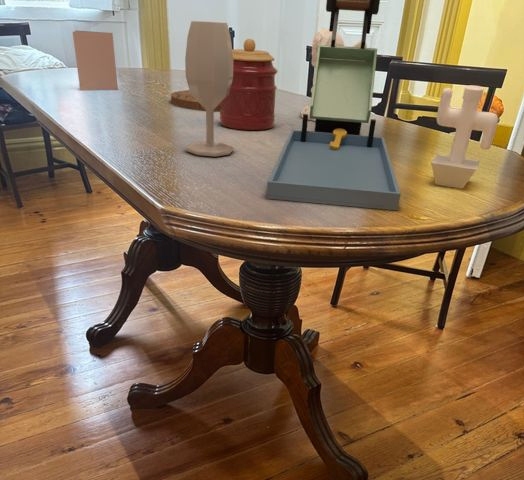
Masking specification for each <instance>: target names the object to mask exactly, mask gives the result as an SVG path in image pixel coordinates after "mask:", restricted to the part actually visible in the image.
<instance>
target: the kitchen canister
mask: <svg viewBox="0 0 524 480" xmlns="http://www.w3.org/2000/svg"><path fill="white" fill-rule="evenodd" d="M232 53H233V80H232V84H231V88H230V92H229V95H228V96H227V97H226V98H225V99H224V100H223V101H222V102H221V110H220V111H219V120H220V124H221V126H223V127H226V128H229V129H235V130H242V131H243V130H244V131H261V130H263V131H264V130H268V129H272V128H273V127H274V124H275V117H276V115H275V108H276V91H277V86H276V81H275V79H276V75H277V74H278V69H277V68H276V67H275V66H274V64H273V62H274V61H275V57H274V56H272V55H271V54H270V53H269V51H266V50H258V49H256V42H255V40H254V39H253V38H246V39H245V41H244V42H243V49H242V48H241V49H239V48H237V49H236V48H235V49H233V48H232Z"/></svg>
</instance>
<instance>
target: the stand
mask: <svg viewBox="0 0 524 480" xmlns="http://www.w3.org/2000/svg"><path fill="white" fill-rule="evenodd" d="M308 121H309V120H308V114H303V118H302V121H301V123H302V124H301V131H302V133H301V142H306V132H307V131H308ZM369 122H370V123H369V129H368V135H367V136H368V142H367V147H369V148H372V143H373V137H375V136H374V135H375V130H376V124H377V123H376V122H377V119H375V118H370V121H369ZM338 128H341V129H344V130H346V132H347V134H349V135H361V129H362V123H360V122H348V121H335V120H322V119H316V121H314V132H324V133H333V131H334V130H335V129H338Z"/></svg>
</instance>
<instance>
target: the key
mask: <svg viewBox="0 0 524 480" xmlns="http://www.w3.org/2000/svg"><path fill="white" fill-rule="evenodd" d="M346 135H347V132H346V130H344V129H341V128H338V129H335V130H334V131H333V136H334V137H335V141H334V142H333V141H331V142H330V146H329V148H330V149H333V150H339V146H340V143H341V139H342V138H345V137H346Z"/></svg>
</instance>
